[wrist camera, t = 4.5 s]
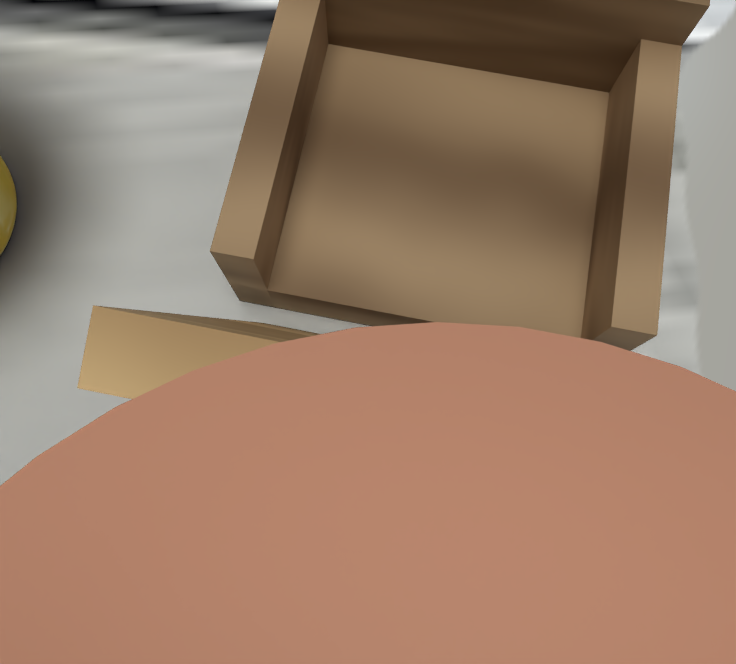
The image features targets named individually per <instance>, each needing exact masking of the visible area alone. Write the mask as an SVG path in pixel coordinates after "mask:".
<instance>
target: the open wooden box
mask: <svg viewBox="0 0 736 664" xmlns="http://www.w3.org/2000/svg"><path fill="white" fill-rule="evenodd" d="M709 6H710V0H279V3H278V7H277V11H276V14H275V18H274V21H273V25H272V29H271V32H270V36H269V39H268V43H267V47H266V50H265V54H264V58H263V61H262V65H261V68H260V72H259V76H258V79H257V83H256V86H255V90H254V94H253V97H252V101H251V104H250V108H249V112H248V115H247V119H246V123H245V126H244V130H243V133H242V137H241V141H240V144H239V148H238V151H237V155H236V159H235V162H234V166H233V170H232V173H231V177H230V180H229V184H228V188H227V191H226V195H225V198H224V202H223V206H222V209H221V213H220V216H219V220H218V224H217V227H216V231H215V235H214V238H213V242H212V245H211V249H210V252H211V254H212V255H213V257H214V259H215V260H216V262H217V264H218V265H219V267H220V269H221V270H222V272H223V274H224V275H225V277H226V279H227V280H228V282H229V284H230V285H231V287H232V288H233V290H234V292H235V293H236V295H237V297H238V298H239V300H240V301H244V302H250V303H255V304H260V305H265V306H271V307H276V308H281V309H286V310H291V311H297V312H302V313H307V314H312V315H318V316H323V317H328V318H333V319H338V320H344V321H349V322H354V323H359V324H365V325H370V326H386V325H401V324H415V323H430V322H445V323H463V324H480V325H497V326H514V327H523V328H528V329H534V330H539V331H545V332H550V333H556V334H561V335H566V336H572V337H577V338H583V339H588V340H594V341H599V342H603V343H606V344H609V345H612V346H616V347H619V348H622V349H625V350H628V351H631V350H632V349H634V348H636V347H638V346H639V345H641V344H643V343H645V342H646V341H648V340H650V339H652V338H653V337H655V336H657V331H658V319H659V307H660V295H661V284H662V272H663V260H664V248H665V237H666V225H667V213H668V201H669V190H670V178H671V166H672V155H673V143H674V131H675V119H676V108H677V96H678V84H679V72H680V61H681V49H682V45H683V43H684V42H685V41H686V39H687V38H688V36H689V35H690V33H691V32H692V31H693V29H694V28H695V26H696V25H697V23H698V22H699V20H700V19H701V18H702V16H703V15H704V13H705V12H706V10H707V9H708V7H709Z"/></svg>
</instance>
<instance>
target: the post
mask: <svg viewBox="0 0 736 664" xmlns="http://www.w3.org/2000/svg"><path fill="white" fill-rule="evenodd" d="M0 664H736V392H735V391H734V390H731V389H729V388H727V387H724V386H722V385H720V384H718V383H716V382H713V381H711V380H709V379H707V378H705V377H702V376H700V375H698V374H696V373H693V372H691V371H689V370H687V369H685V368H682V367H679V366H676V365H673V364H670V363H667V362H663V361H660V360H657V359H654V358H651V357H647V356H644V355H641V354H638V353H635V352H632V351H628V350H625V349H622V348H619V347H616V346H612V345H609V344H606V343H603V342H599V341H594V340H588V339H583V338H577V337H572V336H566V335H561V334H556V333H550V332H545V331H539V330H534V329H528V328H523V327H514V326H497V325H480V324H463V323H445V322H430V323H415V324H401V325H386V326H372V327H357V328H351V329H346V330H341V331H336V332H330V333H325V334H320V335H315V336H310V337H305V338H300V339H295V340H290V341H285V342H280V343H275V344H271V345H268V346H265V347H262V348H259V349H256V350H253V351H250V352H247V353H244V354H241V355H238V356H235V357H232V358H229V359H226V360H223V361H220V362H217V363H214V364H211V365H208V366H205V367H202V368H199V369H196V370H193V371H191V372H189V373H187V374H185V375H182V376H180V377H178V378H176V379H174V380H172V381H170V382H168V383H166V384H163V385H161V386H159V387H157V388H155V389H153V390H151V391H149V392H147V393H144V394H142V395H140V396H138V397H136V398H134V399H132V400H130V401H128V402H125V403H123V404H121V405H119V406H117V407H115V408H113V409H112V410H110V411H108V412H107V413H105V414H104V415H102V416H100V417H99V418H97V419H96V420H94V421H93V422H91V423H89V424H88V425H86V426H85V427H83V428H81V429H80V430H78V431H77V432H75V433H73V434H72V435H70V436H69V437H67V438H66V439H64V440H62V441H61V442H59V443H58V444H56V445H54V446H53V447H51V448H50V449H48V450H46V451H45V452H43V453H42V454H40V455H38V456H37V457H36V458H35V459H33V460H32V461H31V462H30V463H28V464H27V465H26V466H25V467H23V468H22V469H21V470H20V471H18V472H17V473H16V474H15V475H13V476H12V477H11V478H10V479H8V480H7V481H6V482H5V483H3V484H2V485H1V486H0Z"/></svg>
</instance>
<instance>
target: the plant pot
mask: <svg viewBox="0 0 736 664" xmlns="http://www.w3.org/2000/svg"><path fill="white" fill-rule="evenodd" d="M16 210H17V199H16V190H15V185H14V182H13V179H12V176H11V174H10V171H9V169H8V167H7V166H6V164H5V162H4V161H3V159H2V157H1V156H0V255H1V254H2V252H3V250H4V249H5V247H6V245H7V244H8V241H9V239H10V237H11V234H12V231H13V228H14V223H15V218H16Z"/></svg>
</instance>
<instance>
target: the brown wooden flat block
mask: <svg viewBox="0 0 736 664" xmlns="http://www.w3.org/2000/svg"><path fill="white" fill-rule="evenodd" d="M315 335H320V334H317V333H312V332H307V331H302V330H297V329H291V328H286V327H281V326H276V325H271V324H266V323H258V322H248V321H238V320H229V319H219V318H209V317H199V316H190V315H180V314H170V313H161V312H151V311H141V310H131V309H122V308H112V307H102V306H93V309H92V314H91V320H90V325H89V330H88V335H87V340H86V346H85V351H84V356H83V361H82V366H81V372H80V377H79V382H78V387H77V388H80V389H85V390H90V391H95V392H100V393H105V394H109V395H114V396H119V397H124V398H129V399H134V398H136V397H138V396H140V395H142V394H144V393H147V392H149V391H151V390H153V389H155V388H157V387H159V386H161V385H163V384H166V383H168V382H170V381H172V380H174V379H176V378H178V377H180V376H182V375H185V374H187V373H189V372H191V371H193V370H196V369H199V368H202V367H205V366H208V365H211V364H214V363H217V362H220V361H223V360H226V359H229V358H232V357H235V356H238V355H241V354H244V353H247V352H250V351H253V350H256V349H259V348H262V347H265V346H268V345H271V344H275V343H280V342H285V341H290V340H295V339H300V338H305V337H310V336H315Z"/></svg>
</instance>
